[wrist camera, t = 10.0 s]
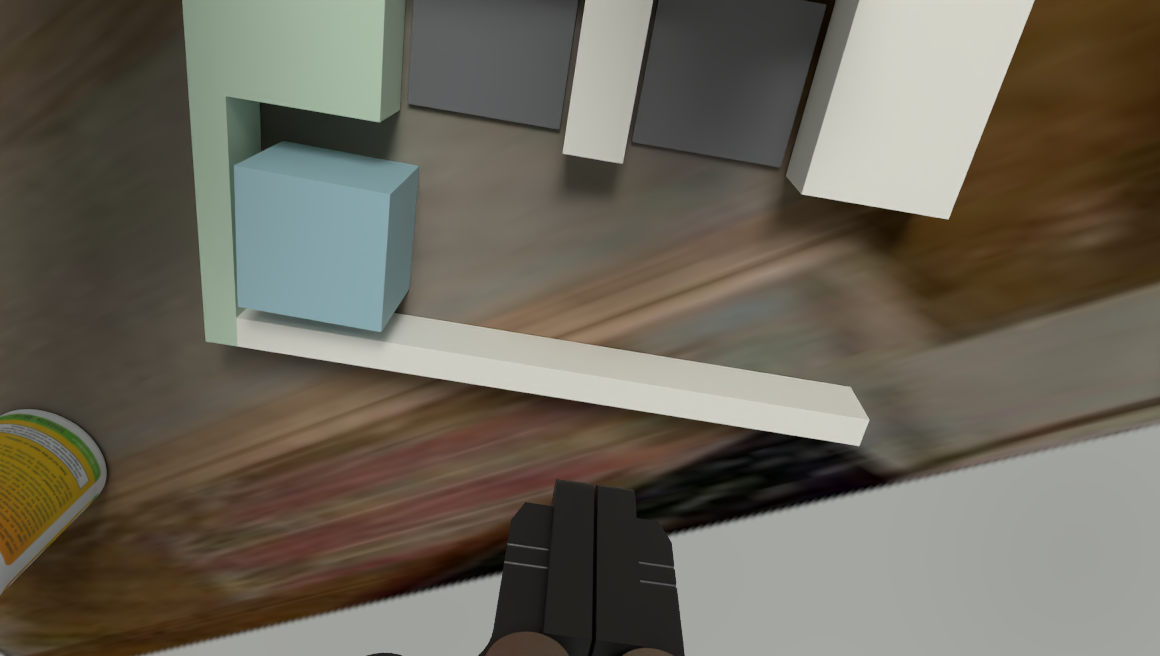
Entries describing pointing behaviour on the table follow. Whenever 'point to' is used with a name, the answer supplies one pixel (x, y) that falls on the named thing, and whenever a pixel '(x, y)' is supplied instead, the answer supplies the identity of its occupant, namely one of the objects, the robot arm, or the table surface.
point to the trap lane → (604, 147)
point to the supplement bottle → (42, 484)
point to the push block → (324, 234)
